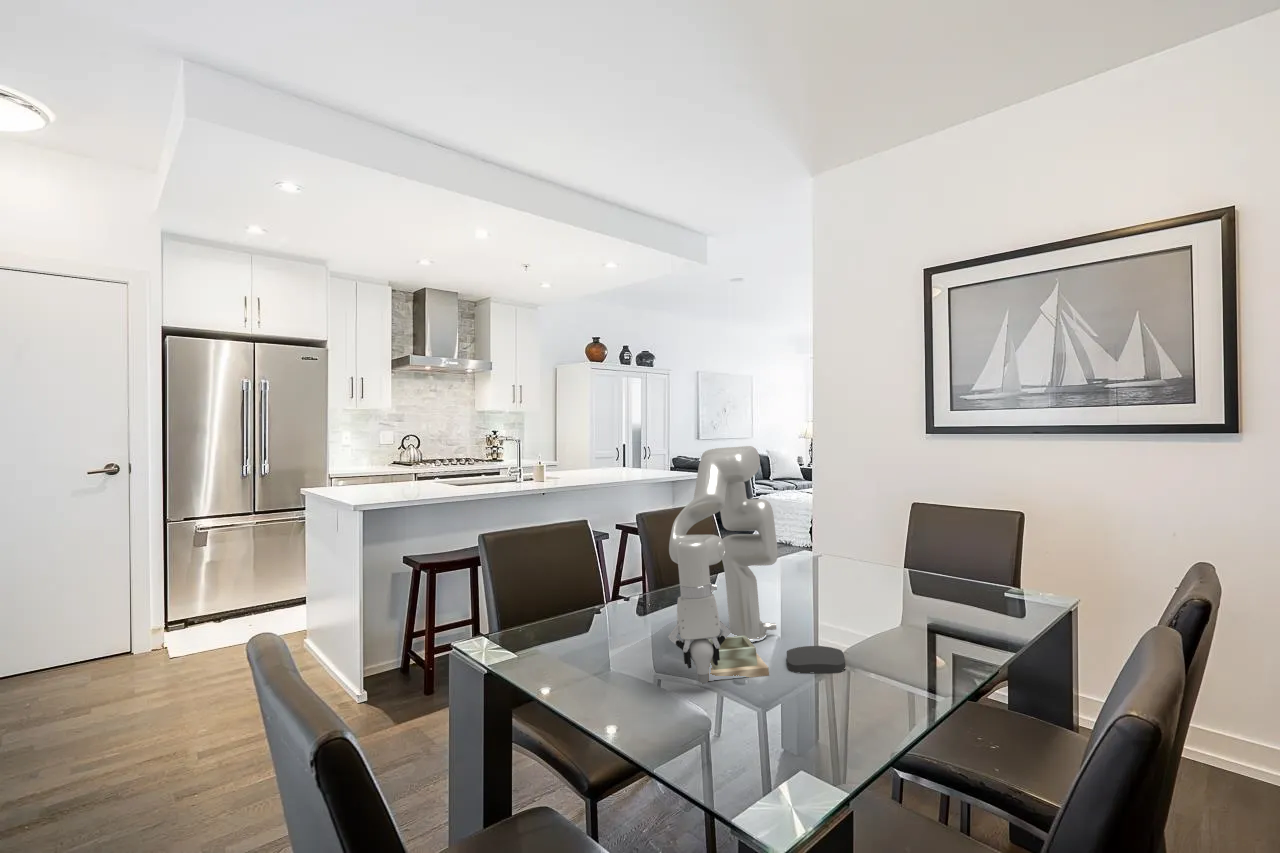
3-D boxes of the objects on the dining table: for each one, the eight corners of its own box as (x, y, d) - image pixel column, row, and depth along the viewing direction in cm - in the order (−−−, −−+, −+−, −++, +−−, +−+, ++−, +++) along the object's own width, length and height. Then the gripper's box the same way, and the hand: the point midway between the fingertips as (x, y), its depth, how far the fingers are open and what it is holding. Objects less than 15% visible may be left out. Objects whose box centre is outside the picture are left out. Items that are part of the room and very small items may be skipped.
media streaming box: (848, 674, 155) (846, 662, 156) (788, 675, 158) (787, 663, 158) (841, 655, 170) (840, 644, 170) (786, 656, 173) (785, 645, 173)
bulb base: (753, 655, 174) (751, 632, 174) (769, 675, 158) (766, 649, 158) (697, 661, 173) (695, 637, 173) (707, 681, 157) (705, 655, 157)
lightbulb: (696, 690, 148) (692, 643, 148) (687, 681, 154) (684, 636, 154) (720, 685, 149) (716, 639, 150) (710, 676, 155) (707, 632, 156)
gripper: (727, 584, 156) (733, 656, 156) (659, 591, 155) (665, 663, 155) (733, 591, 149) (740, 666, 149) (662, 598, 148) (669, 674, 147)
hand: (702, 664), depth 152 cm, fingers closed on lightbulb, 5 cm apart
